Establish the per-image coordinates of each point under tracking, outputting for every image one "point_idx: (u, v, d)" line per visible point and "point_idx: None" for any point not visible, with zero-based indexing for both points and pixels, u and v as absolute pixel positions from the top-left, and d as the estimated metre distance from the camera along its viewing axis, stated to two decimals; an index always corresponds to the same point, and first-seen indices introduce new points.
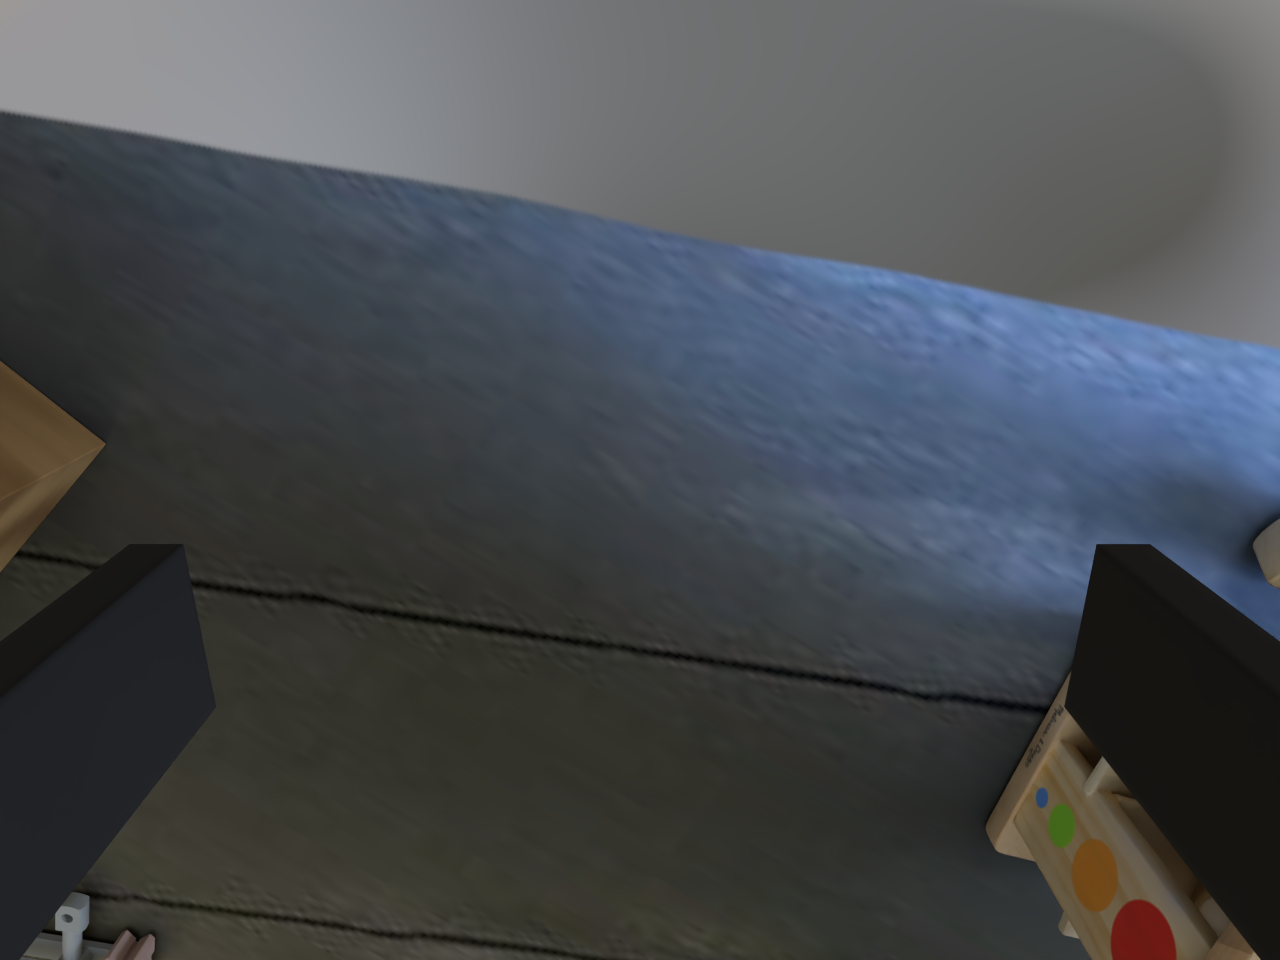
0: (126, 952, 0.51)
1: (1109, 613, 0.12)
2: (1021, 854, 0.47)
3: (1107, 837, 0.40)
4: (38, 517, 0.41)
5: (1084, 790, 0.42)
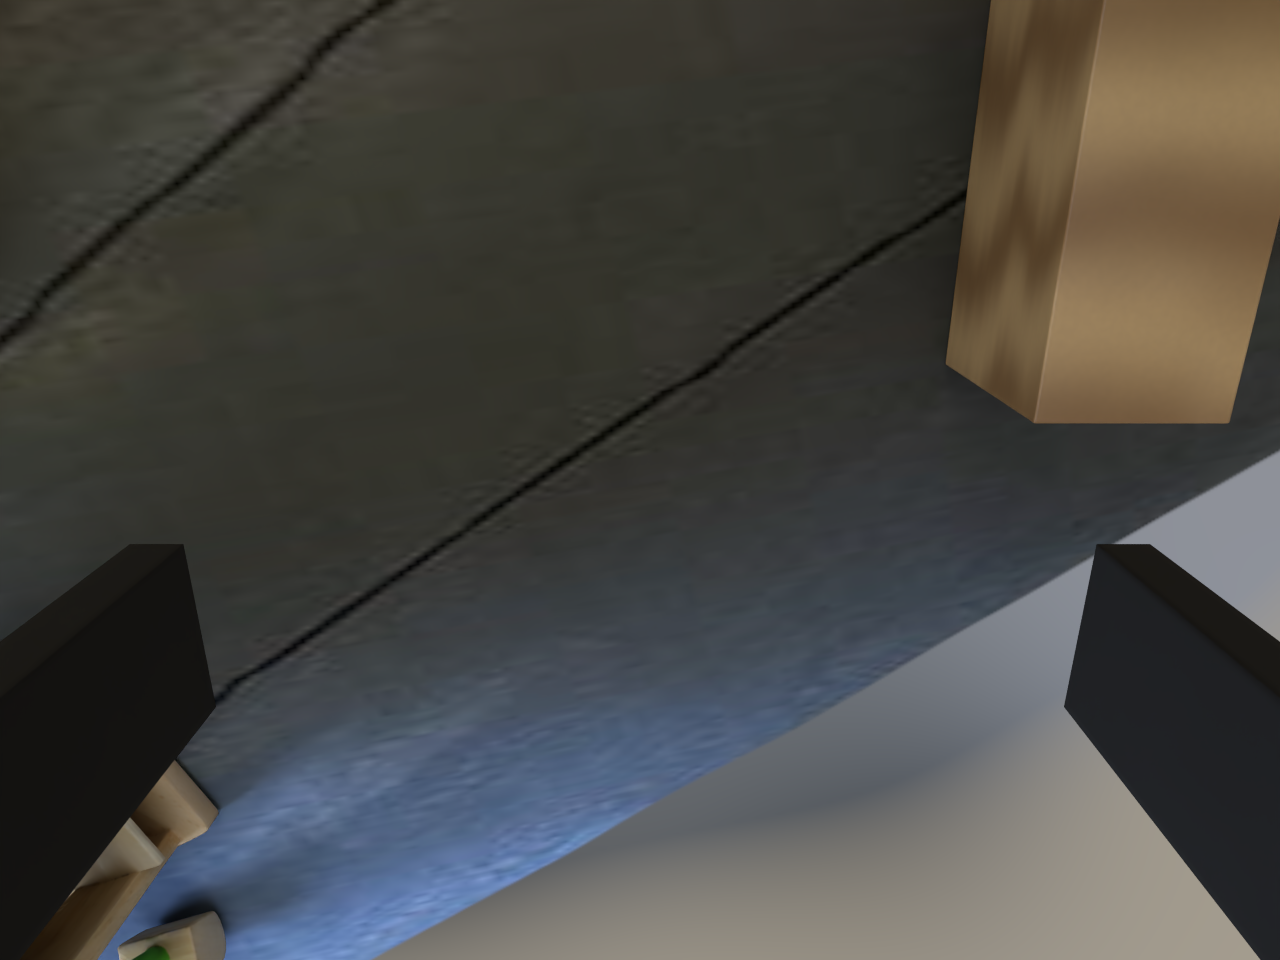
0: None
1: (1109, 613, 0.12)
2: None
3: None
4: (965, 271, 0.41)
5: None
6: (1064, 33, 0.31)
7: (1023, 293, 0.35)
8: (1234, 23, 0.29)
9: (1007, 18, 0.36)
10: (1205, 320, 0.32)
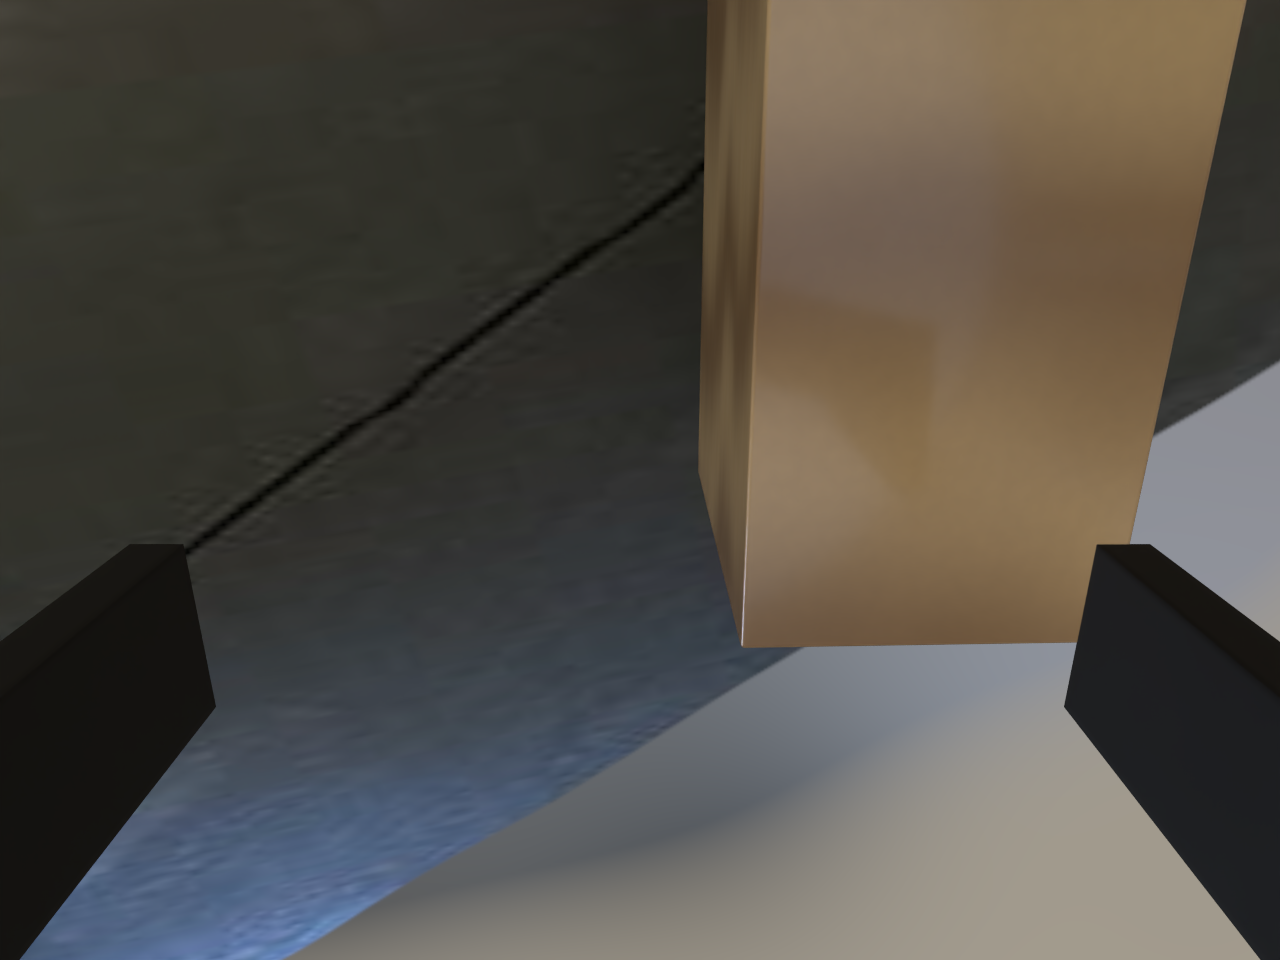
0: None
1: (1109, 613, 0.12)
2: None
3: None
4: (704, 332, 0.25)
5: None
6: None
7: (732, 396, 0.19)
8: None
9: None
10: (1051, 460, 0.16)
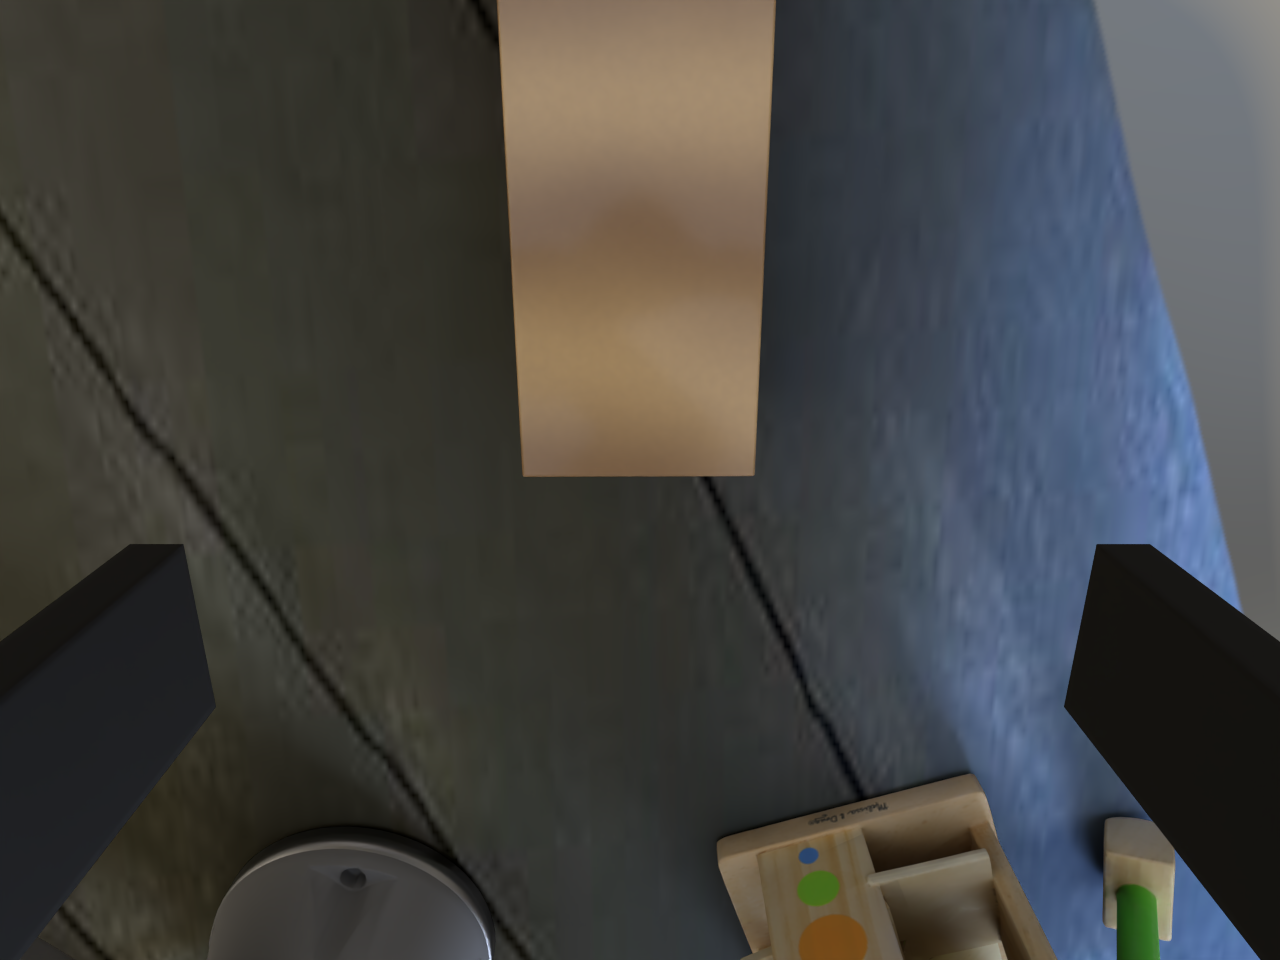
0: None
1: (1109, 613, 0.12)
2: (729, 882, 0.46)
3: (869, 926, 0.39)
4: None
5: (868, 878, 0.41)
6: None
7: None
8: None
9: None
10: (700, 355, 0.27)
